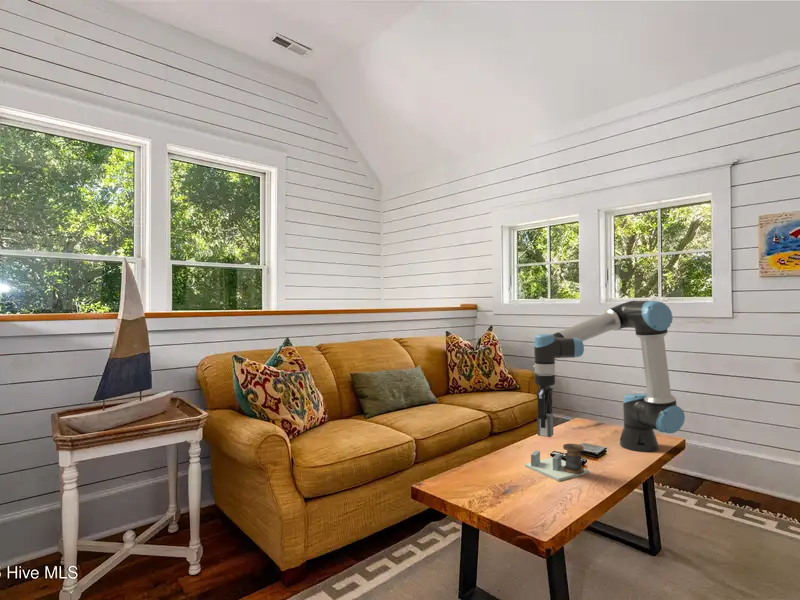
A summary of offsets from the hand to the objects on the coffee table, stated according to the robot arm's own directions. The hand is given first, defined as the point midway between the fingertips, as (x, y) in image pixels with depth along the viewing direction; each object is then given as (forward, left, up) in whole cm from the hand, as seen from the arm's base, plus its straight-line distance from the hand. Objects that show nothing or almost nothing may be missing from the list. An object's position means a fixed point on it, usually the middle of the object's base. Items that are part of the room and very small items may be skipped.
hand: (545, 434), depth 185 cm
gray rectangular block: (0, 0, 0) cm, 0 cm away
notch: (0, 0, -13) cm, 13 cm away
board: (-3, +3, -13) cm, 14 cm away
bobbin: (-6, +9, -13) cm, 17 cm away
